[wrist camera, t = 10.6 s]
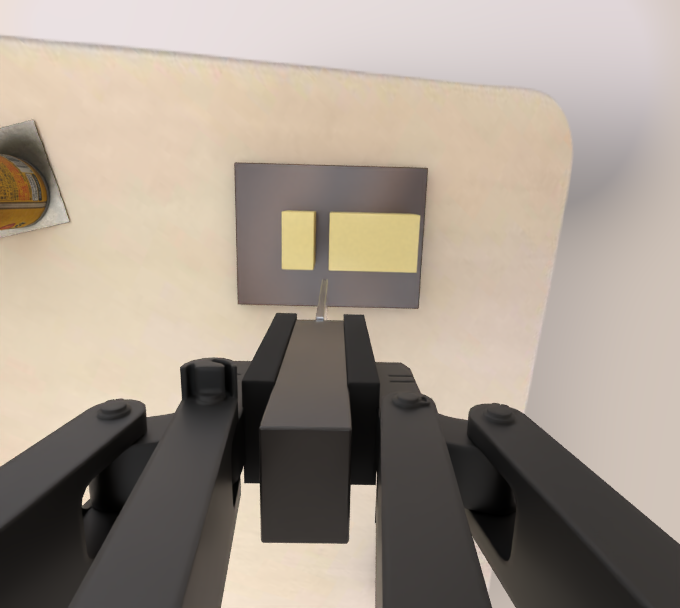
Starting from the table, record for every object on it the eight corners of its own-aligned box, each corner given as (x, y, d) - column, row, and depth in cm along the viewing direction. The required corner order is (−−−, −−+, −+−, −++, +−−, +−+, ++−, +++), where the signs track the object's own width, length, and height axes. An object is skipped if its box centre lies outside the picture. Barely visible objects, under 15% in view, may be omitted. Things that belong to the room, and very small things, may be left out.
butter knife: (341, 279, 24) (352, 423, 9) (340, 329, 25) (348, 549, 9) (308, 278, 24) (257, 422, 9) (307, 329, 25) (260, 547, 9)
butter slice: (316, 211, 38) (314, 212, 35) (315, 264, 39) (313, 270, 36) (286, 210, 38) (281, 211, 35) (286, 263, 39) (281, 269, 36)
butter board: (425, 168, 39) (428, 167, 38) (416, 306, 41) (418, 308, 40) (236, 163, 38) (234, 162, 37) (239, 301, 41) (237, 304, 40)
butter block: (413, 213, 38) (420, 215, 35) (409, 266, 39) (416, 272, 36) (330, 211, 38) (329, 212, 35) (329, 264, 39) (328, 270, 36)
